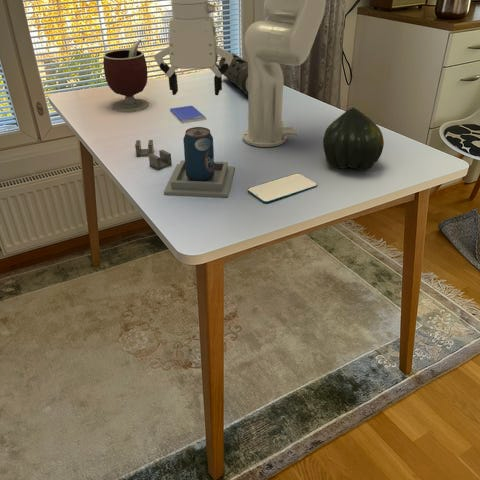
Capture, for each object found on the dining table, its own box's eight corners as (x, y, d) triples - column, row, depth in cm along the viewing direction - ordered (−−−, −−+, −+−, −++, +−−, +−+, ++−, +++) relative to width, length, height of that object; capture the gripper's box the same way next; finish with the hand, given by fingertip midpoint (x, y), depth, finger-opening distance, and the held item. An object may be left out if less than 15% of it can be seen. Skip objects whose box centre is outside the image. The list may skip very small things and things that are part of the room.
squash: (365, 165, 113) (385, 106, 114) (307, 154, 120) (327, 98, 121) (376, 184, 125) (394, 130, 126) (323, 172, 132) (341, 122, 133)
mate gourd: (132, 115, 157) (123, 51, 146) (101, 108, 163) (90, 46, 152) (162, 102, 168) (156, 41, 157) (132, 96, 174) (124, 37, 163)
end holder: (234, 169, 124) (234, 159, 123) (227, 197, 112) (227, 187, 110) (177, 166, 125) (176, 157, 124) (164, 194, 113) (163, 184, 112)
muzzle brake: (241, 78, 193) (240, 51, 187) (269, 98, 171) (269, 68, 166) (218, 80, 190) (217, 53, 184) (244, 102, 169) (244, 71, 163)
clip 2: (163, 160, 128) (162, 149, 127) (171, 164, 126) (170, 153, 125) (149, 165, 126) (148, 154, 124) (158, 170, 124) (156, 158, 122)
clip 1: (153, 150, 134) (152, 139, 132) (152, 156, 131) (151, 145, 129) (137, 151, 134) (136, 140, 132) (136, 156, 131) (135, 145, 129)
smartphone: (298, 175, 122) (245, 192, 115) (298, 172, 121) (245, 188, 114) (318, 188, 116) (265, 206, 109) (319, 184, 116) (265, 202, 109)
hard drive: (206, 116, 154) (192, 105, 163) (181, 120, 151) (169, 108, 160) (206, 121, 154) (193, 109, 164) (181, 125, 152) (170, 113, 161)
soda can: (214, 184, 116) (212, 136, 109) (185, 184, 115) (181, 137, 109) (214, 171, 121) (212, 125, 114) (186, 172, 121) (183, 126, 114)
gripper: (233, 7, 102) (235, 88, 112) (153, 8, 103) (162, 87, 113) (230, 14, 96) (232, 99, 106) (144, 14, 97) (155, 98, 107)
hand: (196, 93), depth 109 cm, fingers open, 9 cm apart
